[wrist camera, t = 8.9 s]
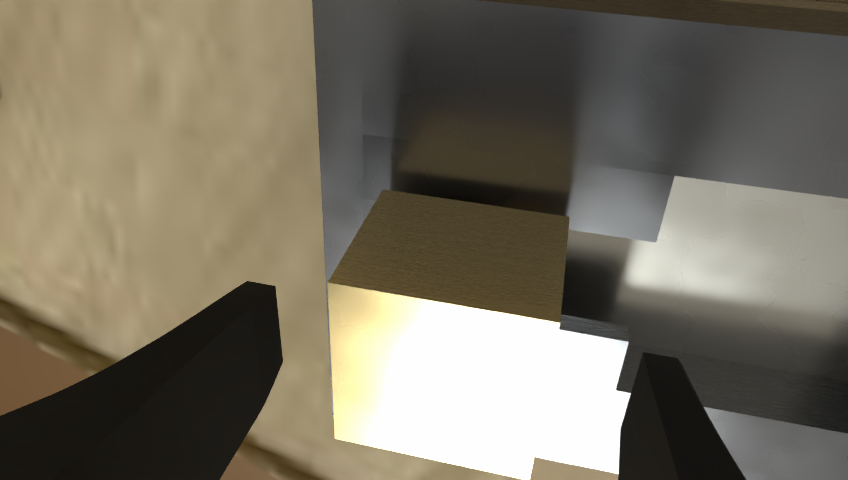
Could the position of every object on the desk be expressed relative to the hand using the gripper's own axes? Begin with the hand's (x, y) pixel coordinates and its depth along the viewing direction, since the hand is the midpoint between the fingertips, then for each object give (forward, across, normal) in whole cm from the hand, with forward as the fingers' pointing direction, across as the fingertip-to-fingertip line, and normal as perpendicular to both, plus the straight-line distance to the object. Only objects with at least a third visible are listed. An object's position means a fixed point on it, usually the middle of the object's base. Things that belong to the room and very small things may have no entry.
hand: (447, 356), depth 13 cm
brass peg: (+5, 0, 0) cm, 5 cm away
